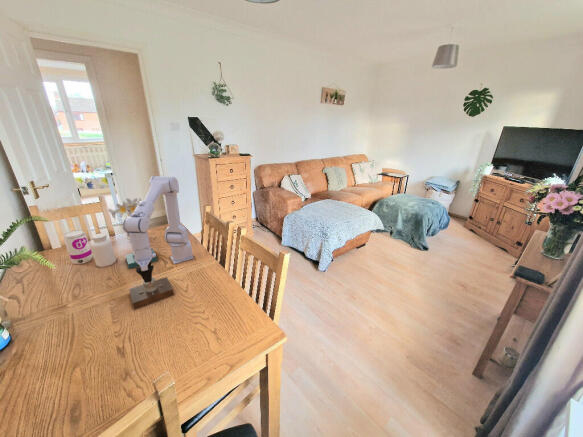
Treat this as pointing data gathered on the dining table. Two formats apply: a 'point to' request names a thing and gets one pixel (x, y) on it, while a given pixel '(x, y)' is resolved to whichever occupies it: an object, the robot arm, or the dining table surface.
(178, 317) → the dining table surface
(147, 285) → the lock dial
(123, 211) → the flower vase
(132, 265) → the push button box
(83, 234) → the supplement can
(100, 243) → the pill bottle
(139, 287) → the lock panel
